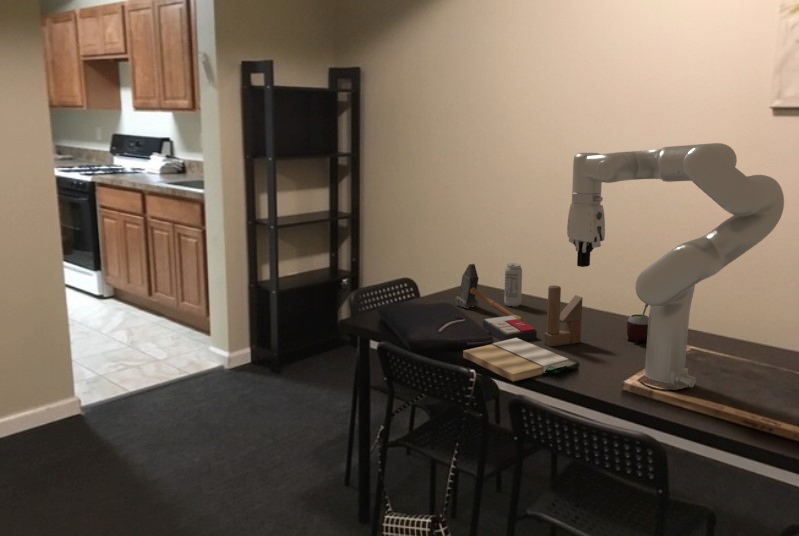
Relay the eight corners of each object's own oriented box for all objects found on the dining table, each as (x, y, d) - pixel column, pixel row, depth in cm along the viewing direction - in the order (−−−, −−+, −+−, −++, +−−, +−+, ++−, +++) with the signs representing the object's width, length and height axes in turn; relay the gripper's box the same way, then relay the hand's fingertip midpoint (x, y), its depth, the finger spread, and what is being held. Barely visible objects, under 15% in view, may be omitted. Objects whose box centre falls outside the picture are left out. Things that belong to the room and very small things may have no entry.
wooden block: (580, 342, 213) (583, 285, 209) (550, 347, 209) (552, 288, 205) (573, 339, 216) (576, 282, 212) (543, 343, 212) (545, 285, 209)
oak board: (542, 373, 188) (542, 366, 188) (513, 381, 183) (513, 374, 183) (490, 350, 206) (491, 344, 206) (463, 357, 201) (463, 350, 201)
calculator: (506, 332, 212) (482, 317, 226) (505, 346, 213) (481, 330, 227) (537, 328, 216) (512, 313, 230) (536, 341, 218) (511, 326, 231)
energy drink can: (524, 305, 255) (525, 264, 251) (514, 308, 250) (515, 267, 247) (510, 302, 259) (511, 262, 255) (500, 305, 254) (501, 265, 251)
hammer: (518, 298, 226) (461, 262, 249) (509, 341, 233) (454, 302, 255) (531, 295, 230) (473, 260, 252) (522, 337, 236) (467, 300, 258)
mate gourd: (628, 337, 218) (631, 290, 214) (655, 341, 214) (658, 293, 211) (623, 344, 211) (626, 295, 208) (650, 348, 208) (653, 298, 204)
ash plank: (568, 365, 193) (568, 358, 192) (543, 372, 188) (543, 365, 188) (516, 344, 211) (516, 337, 211) (492, 349, 207) (492, 343, 206)
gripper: (617, 201, 185) (614, 269, 189) (576, 195, 197) (573, 259, 201) (597, 203, 181) (593, 272, 185) (556, 197, 193) (554, 263, 197)
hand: (583, 265), depth 193 cm, fingers closed
